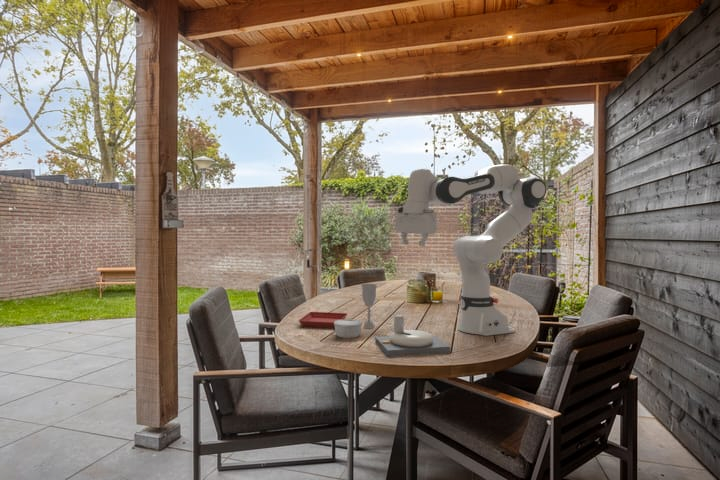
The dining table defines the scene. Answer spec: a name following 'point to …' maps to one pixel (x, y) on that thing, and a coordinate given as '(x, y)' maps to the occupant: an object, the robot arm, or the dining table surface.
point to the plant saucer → (321, 319)
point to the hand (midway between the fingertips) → (413, 245)
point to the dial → (409, 335)
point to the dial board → (399, 350)
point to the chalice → (369, 301)
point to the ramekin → (347, 328)
